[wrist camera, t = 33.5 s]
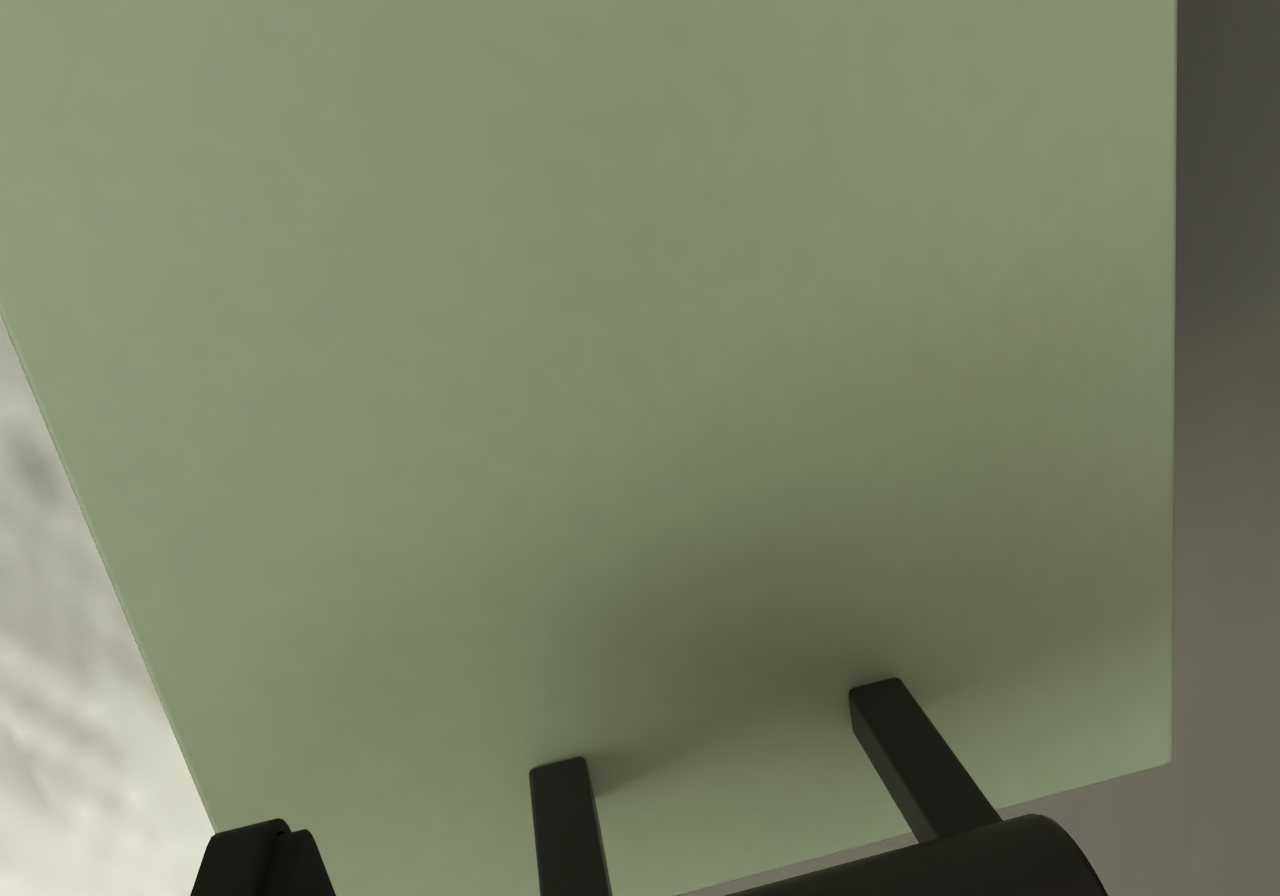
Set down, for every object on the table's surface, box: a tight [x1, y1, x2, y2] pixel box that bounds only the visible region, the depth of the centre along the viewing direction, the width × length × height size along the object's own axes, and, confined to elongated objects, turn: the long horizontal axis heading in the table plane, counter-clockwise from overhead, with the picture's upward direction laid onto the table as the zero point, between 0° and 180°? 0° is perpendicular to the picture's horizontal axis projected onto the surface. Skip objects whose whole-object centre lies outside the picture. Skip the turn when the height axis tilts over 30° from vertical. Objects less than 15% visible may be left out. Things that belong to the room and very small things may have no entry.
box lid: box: [0, 0, 1177, 896], centre depth 9 cm, size 15×12×6 cm
